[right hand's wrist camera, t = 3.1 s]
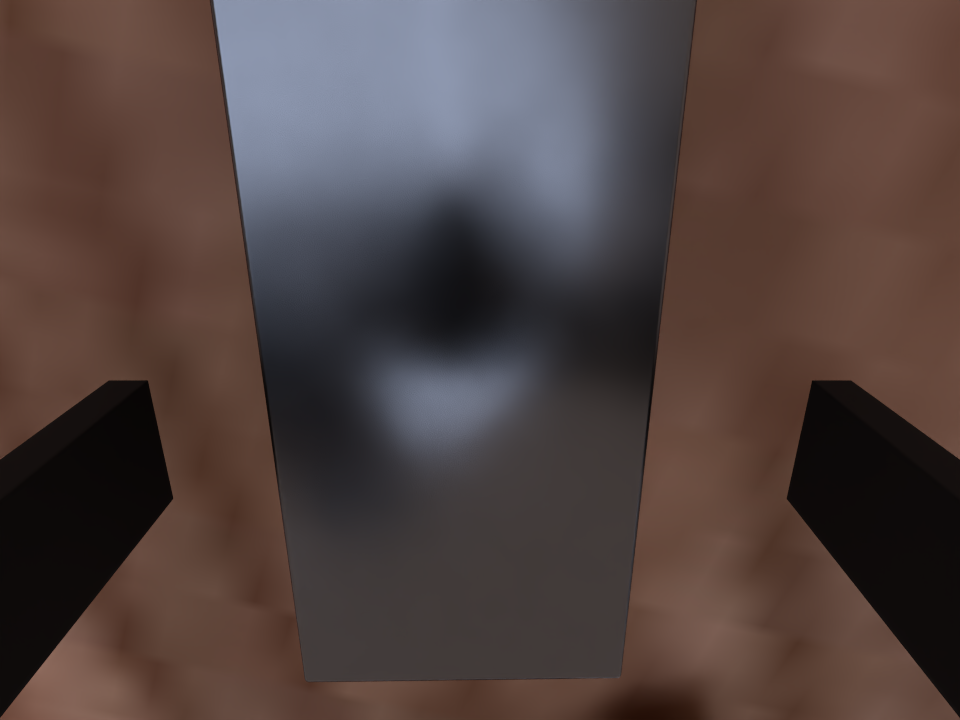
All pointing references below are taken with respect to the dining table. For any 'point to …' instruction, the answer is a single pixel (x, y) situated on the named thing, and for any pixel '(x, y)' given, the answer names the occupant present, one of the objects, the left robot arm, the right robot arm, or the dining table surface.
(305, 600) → the bar
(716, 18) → the dining table surface
